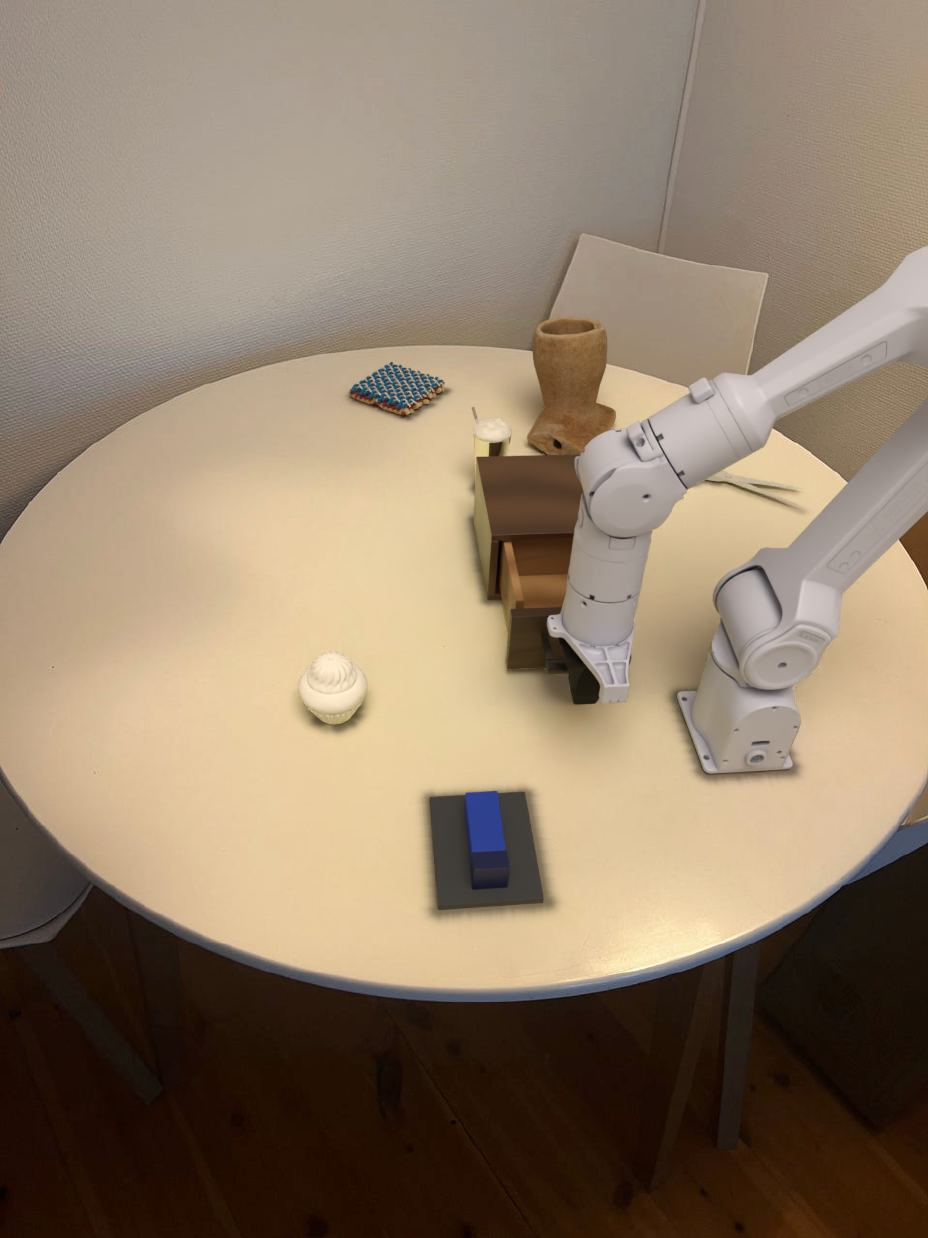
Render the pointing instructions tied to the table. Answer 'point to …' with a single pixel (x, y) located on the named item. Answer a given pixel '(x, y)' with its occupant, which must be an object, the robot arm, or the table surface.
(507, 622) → the drawer
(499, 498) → the cabinet
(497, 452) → the milkshake
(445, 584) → the table surface
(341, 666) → the muffin
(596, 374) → the stone cup
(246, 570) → the table surface
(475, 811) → the block
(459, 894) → the desk pad
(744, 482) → the scissors
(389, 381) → the woven mat
